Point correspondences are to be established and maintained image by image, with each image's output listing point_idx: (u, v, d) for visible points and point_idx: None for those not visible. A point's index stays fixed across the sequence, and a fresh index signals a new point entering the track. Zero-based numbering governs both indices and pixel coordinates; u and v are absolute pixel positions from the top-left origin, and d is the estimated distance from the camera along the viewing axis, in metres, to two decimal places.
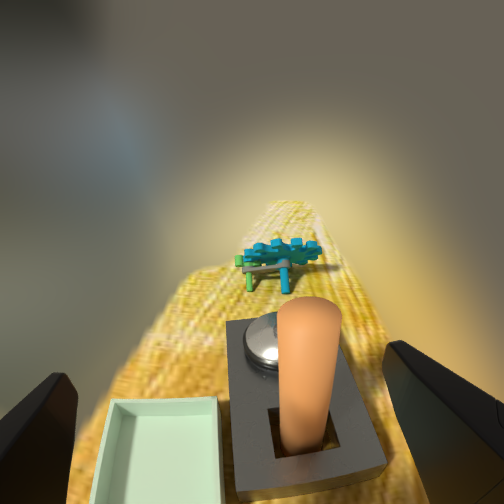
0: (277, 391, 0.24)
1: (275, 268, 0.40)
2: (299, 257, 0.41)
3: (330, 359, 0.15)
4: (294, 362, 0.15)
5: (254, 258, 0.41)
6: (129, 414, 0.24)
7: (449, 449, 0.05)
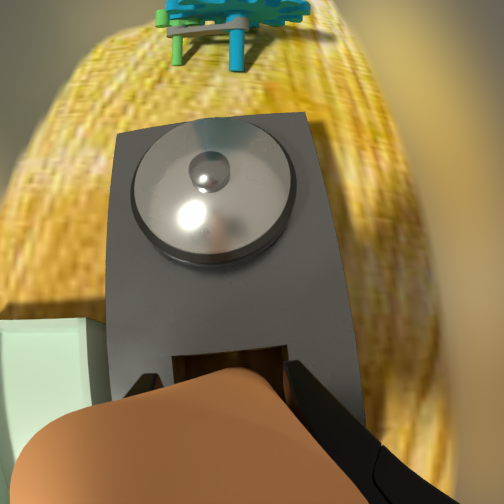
0: (192, 315, 0.12)
1: (221, 29, 0.18)
2: (268, 15, 0.18)
3: None
4: None
5: (187, 13, 0.18)
6: None
7: None
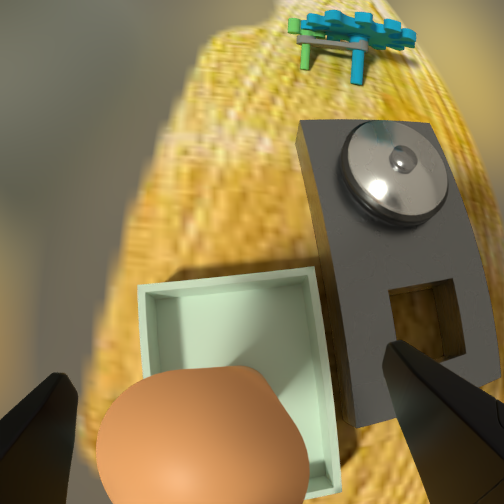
0: (397, 259, 0.16)
1: (347, 47, 0.22)
2: (381, 41, 0.22)
3: None
4: None
5: (318, 27, 0.22)
6: (167, 297, 0.17)
7: (449, 449, 0.05)
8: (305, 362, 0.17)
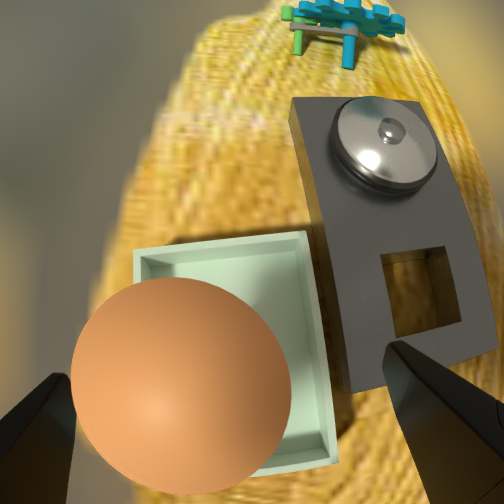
0: (388, 225, 0.17)
1: (338, 33, 0.22)
2: (372, 28, 0.22)
3: None
4: None
5: (310, 14, 0.22)
6: (162, 263, 0.18)
7: (449, 449, 0.05)
8: (299, 328, 0.17)
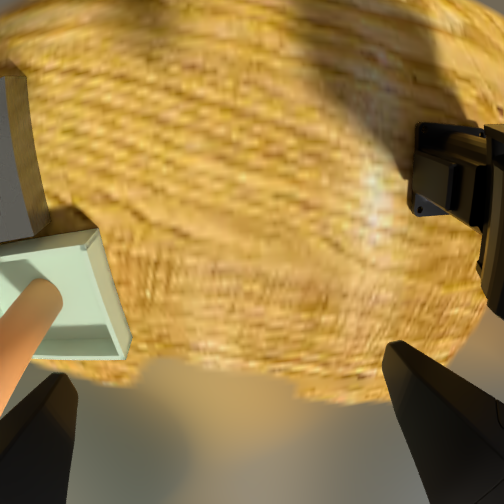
0: None
1: None
2: None
3: None
4: None
5: None
6: None
7: (449, 449, 0.05)
8: None
